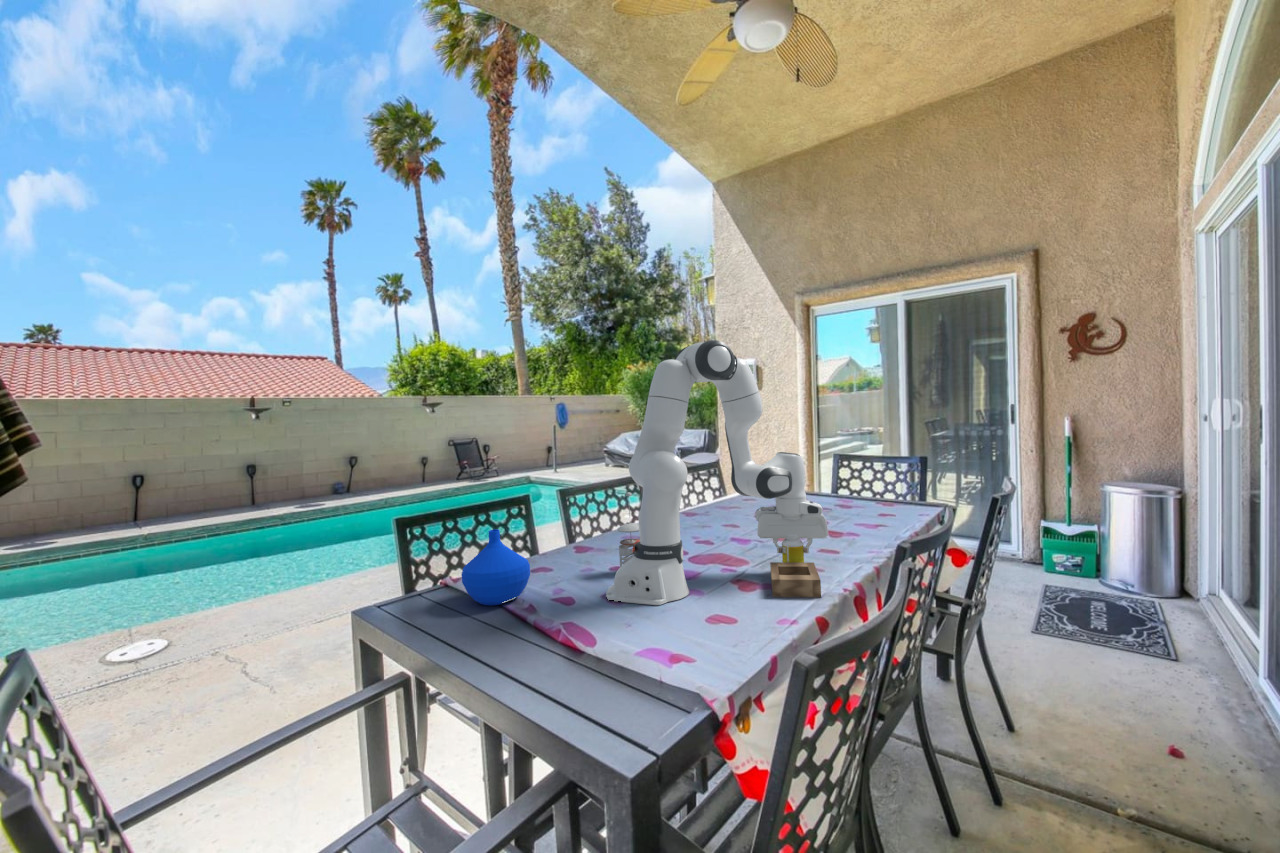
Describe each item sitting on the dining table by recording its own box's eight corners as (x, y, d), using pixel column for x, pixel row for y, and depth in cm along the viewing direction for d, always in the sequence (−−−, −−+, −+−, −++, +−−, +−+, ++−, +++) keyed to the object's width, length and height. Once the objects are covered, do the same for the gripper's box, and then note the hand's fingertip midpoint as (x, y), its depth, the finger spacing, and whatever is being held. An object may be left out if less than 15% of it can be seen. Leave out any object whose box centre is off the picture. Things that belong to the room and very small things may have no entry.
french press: (616, 569, 175) (611, 491, 174) (651, 566, 176) (647, 488, 175) (618, 577, 165) (613, 495, 164) (656, 574, 166) (651, 492, 165)
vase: (541, 588, 158) (537, 523, 158) (516, 611, 140) (511, 537, 140) (482, 588, 161) (478, 524, 161) (450, 611, 143) (445, 538, 143)
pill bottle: (808, 569, 162) (806, 532, 162) (798, 574, 158) (796, 536, 158) (789, 566, 166) (787, 530, 166) (779, 571, 162) (777, 533, 162)
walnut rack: (772, 596, 141) (771, 579, 141) (771, 577, 157) (770, 562, 157) (821, 597, 139) (820, 579, 139) (814, 578, 154) (813, 562, 154)
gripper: (755, 508, 161) (757, 555, 161) (828, 508, 157) (829, 556, 157) (755, 505, 167) (757, 550, 167) (825, 504, 163) (827, 550, 163)
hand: (792, 552), depth 162 cm, fingers closed on pill bottle, 6 cm apart
